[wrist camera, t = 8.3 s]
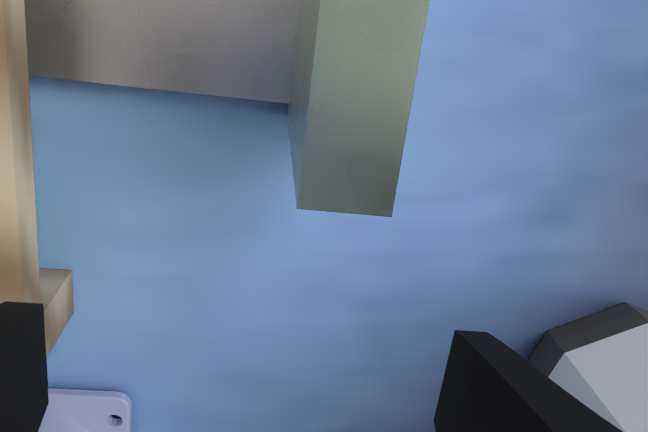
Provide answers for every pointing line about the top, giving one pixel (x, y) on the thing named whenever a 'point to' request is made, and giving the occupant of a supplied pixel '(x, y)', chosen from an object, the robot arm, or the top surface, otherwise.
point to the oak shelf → (23, 187)
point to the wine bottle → (602, 363)
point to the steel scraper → (261, 73)
